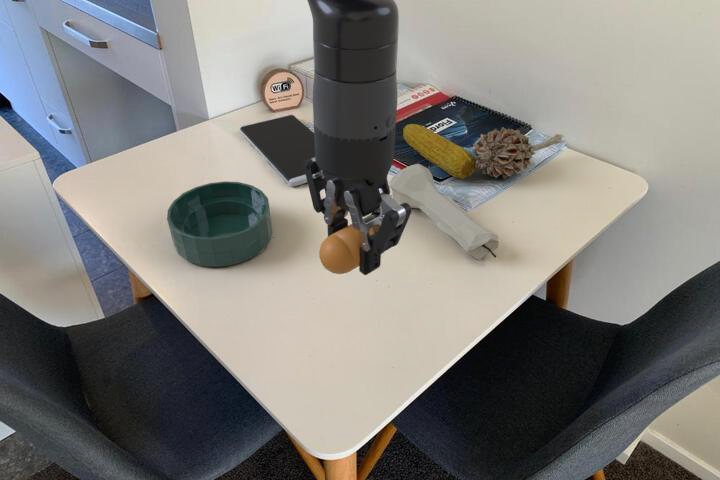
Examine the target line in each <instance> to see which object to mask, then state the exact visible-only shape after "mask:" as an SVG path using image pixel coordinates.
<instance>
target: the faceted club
mask: <svg viewBox="0 0 720 480" xmlns="http://www.w3.org/2000/svg"><path fill="white" fill-rule="evenodd" d="M388 185H389V188H390V190H392V198H393V199H394V200H395V201H396V202H397V203H398V204H399V205H401V204H403V203H408V204H409V205H410V207H411V209H420V210H421V211H422V212H423V213H424V214H425V215H426V216H428V217H429V218H430V219H431V220H433V222H435V224H436V227H437V229H439V230H440V231H442V232H444V233H445V234H446V235H448V236H449V237H451V238H453V240H455V241H456V242H457V243H458V244H459V245H460V246H461V248H462V249H464V251H465V252H466V253H467V254H469V255H470V256H471V257H472V258H473V259H475V260H476V261H480V260H482V259H483V258H484V257H485V255H487V254H489V253H490V254H491V256H493V258H494V259H496V258H497V255H496V254H495V253H494V252H493V251H494V250H497V249H499V243H500V239H499V235H498V234H496V233H495V232H492V231H491V230H490V229H488V228H486V227H485V226H484V225H481V224H480V223H478V222H477V221H476V220H474V219H473V218H472V217H471V216H470V215H469V214H468V213H466V212H465V210H463V208H462V207H461V206H459V205H458V204H457V203H456V201H454V199H453V198H452V197H451V196H449V195H445V194H442V193H441V192H440V191H438V188H437V186H436V185H435V182H434V177H433V174H432V172H431V171H430V169H429V168H427V167H425V166H424V165H422V164H420V163H415V164H411V165H409V166H406V167H405V168H403V169H400V170H399V171H398V172H397V173H395V175H393V176H392V177H391V179H390V180H389V181H388Z"/></svg>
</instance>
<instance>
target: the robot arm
mask: <svg viewBox="0 0 720 480" xmlns="http://www.w3.org/2000/svg"><path fill="white" fill-rule="evenodd" d="M306 1H307V3H308V6H309V9H310V10H309V11H310V14H311V17H312V45H313V47H312V50H313V68H314V70H313V72H314V73H313V83H312V111H313V112H312V114H313V115H312V117H313V133H314V140H315V157H314V158H312V159H309V160H307V161H305V162H304V163H303V166H304V170H305V174H306V178H307V187H308V191H309V194H310V199H311V203H312V207H313V210H314V212H316V213H317V214H320V213H322V214H323V220H324V222H325V224H326V225H327V237H329V236H330V235H332V234H334V233H336V232H337V231H339V230H341V229H343V228H345V227H347V226H349V220H348V218H346V217H348V215H349V216H350V220H351V224H352V225H353V228H354V229H355V230H357V231H358V234H359V239H360V243H361V247H360V263H359V266H358V271H359V273H361V274H362V275H363V276H367V275H369V274H371V273H372V272H374V271H376V270H378V269H379V268H380V267H381V263H382V254H384V253H385V252H386V251H388V250H390V249H391V248H393V247H394V248H395V247H396V246H397V245H399V242H400V240H401V238H402V235H403V233H404V231H405V228H406V226H407V224H408V222H409V220H410V217H411V215H412V212H413V210H412V209H413V208H411V207H410V205H409V204H408V203H403V204H400V203H397V202H396V201H395V200H394V199H393V196H391V188H390V185H389V181H388V175H389V172H390V170H391V168H392V166H393V163H394V159H395V143H396V127H397V112H398V83H397V81H398V80H397V68H398V67H397V64H398V47H399V34H400V33H399V30H400V15H399V14H400V13H399V7H398V4H397V2H396V1H395V0H306ZM321 191H324V193H325V197H323V198H322V197H321ZM372 227H373V232H374V234H372V235H370V234H369V230H370V228H372Z"/></svg>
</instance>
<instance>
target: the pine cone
mask: <svg viewBox="0 0 720 480" xmlns="http://www.w3.org/2000/svg"><path fill="white" fill-rule="evenodd" d="M563 137H567V136H565V135H563V133H559V134H557V133H555V134H554V136H552V137H550V138H548V139H547V140H544V141H542V142H540V143H536V144H533V145H532V142H530V141H529V140H530V138H529V137H528V136H526V134H521V132H520V130H519V129H516V130H514V129H513V128H507V129H506V128H505V127H504V126H502V127H501V129H500V130H498V128H494V129H493V130H491V131H489V132H487V134H483V133H481V134H480V138H479V139H476V140H477V142H475V143H472V145H473V147H474V148H473V149H471V150H470V152H471V153H472V154H474V156H473V157H474V160H475V163H476V164H475V168H478V169H479V172H482V174H483V175H489V177H492V178H493V177H494V178H495V179H498V178H499V176H502V178H503V179H506V178H507V177H512V176H515V174H521V170H523V169H525V170H528V168H529V166H531V165H532V163H531V159H533V156H534V155H536V152H537V151H540V150H543V149H545V148H548V147H550V146H554V145H557V144H563V143H564V142H563V140H562V139H563Z"/></svg>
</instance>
